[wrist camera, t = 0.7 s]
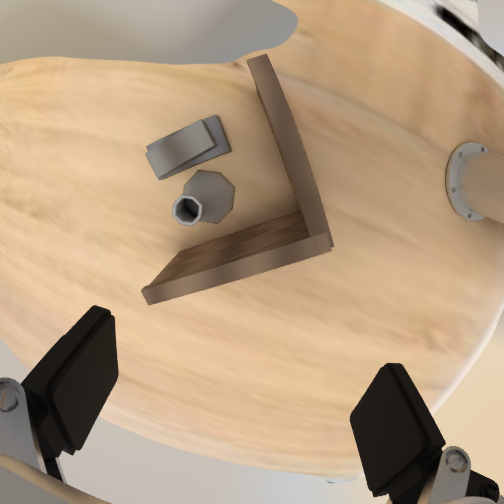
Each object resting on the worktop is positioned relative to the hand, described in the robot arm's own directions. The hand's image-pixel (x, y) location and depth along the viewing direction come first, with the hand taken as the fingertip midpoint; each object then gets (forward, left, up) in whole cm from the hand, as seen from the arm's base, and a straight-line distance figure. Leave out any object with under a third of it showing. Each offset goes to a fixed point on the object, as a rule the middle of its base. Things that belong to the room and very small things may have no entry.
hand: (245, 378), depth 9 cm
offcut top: (+7, -11, -28) cm, 31 cm away
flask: (+7, -4, -30) cm, 31 cm away
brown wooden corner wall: (+5, -6, -30) cm, 31 cm away
